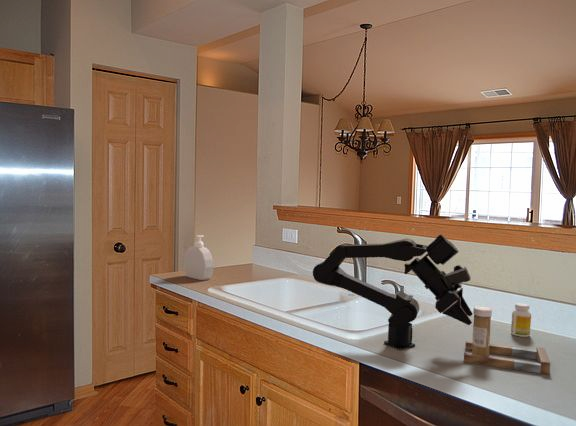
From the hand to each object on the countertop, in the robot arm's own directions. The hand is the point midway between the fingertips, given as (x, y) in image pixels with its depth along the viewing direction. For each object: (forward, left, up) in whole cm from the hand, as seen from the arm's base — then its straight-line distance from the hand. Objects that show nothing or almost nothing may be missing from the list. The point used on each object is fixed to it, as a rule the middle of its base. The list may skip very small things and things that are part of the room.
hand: (471, 319), depth 132 cm
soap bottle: (-27, +129, -10) cm, 132 cm away
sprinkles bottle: (+2, -2, -10) cm, 10 cm away
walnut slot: (+5, -7, -10) cm, 13 cm away
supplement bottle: (+30, +4, -10) cm, 32 cm away
